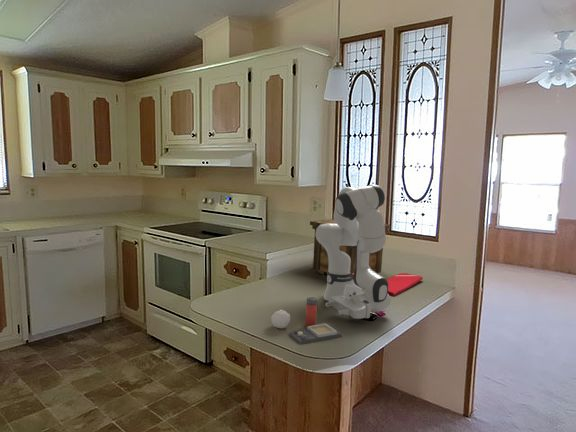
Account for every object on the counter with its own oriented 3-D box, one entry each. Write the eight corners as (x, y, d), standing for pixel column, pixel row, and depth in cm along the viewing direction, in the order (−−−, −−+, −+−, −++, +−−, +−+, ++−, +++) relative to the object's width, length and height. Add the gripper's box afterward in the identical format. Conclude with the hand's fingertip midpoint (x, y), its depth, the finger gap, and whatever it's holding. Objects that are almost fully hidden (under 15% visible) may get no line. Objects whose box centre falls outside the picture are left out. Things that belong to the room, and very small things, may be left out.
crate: (350, 285, 237) (354, 229, 232) (307, 272, 262) (310, 221, 258) (386, 276, 260) (389, 224, 256) (343, 264, 286) (346, 217, 281)
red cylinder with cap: (312, 323, 178) (313, 296, 176) (317, 327, 174) (319, 300, 172) (303, 325, 176) (304, 297, 174) (308, 329, 172) (310, 301, 170)
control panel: (329, 328, 174) (329, 322, 173) (341, 336, 166) (341, 330, 165) (289, 334, 165) (289, 329, 165) (299, 344, 157) (300, 338, 157)
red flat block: (367, 290, 229) (368, 284, 229) (398, 277, 261) (399, 271, 261) (394, 297, 220) (394, 290, 219) (423, 282, 251) (423, 276, 251)
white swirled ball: (288, 324, 176) (289, 306, 175) (291, 331, 169) (292, 313, 168) (270, 324, 175) (270, 306, 174) (271, 331, 168) (272, 313, 167)
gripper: (345, 291, 194) (320, 294, 187) (372, 305, 176) (346, 309, 169) (344, 304, 194) (319, 307, 188) (371, 319, 176) (345, 324, 170)
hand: (332, 308), depth 179 cm, fingers open, 8 cm apart
